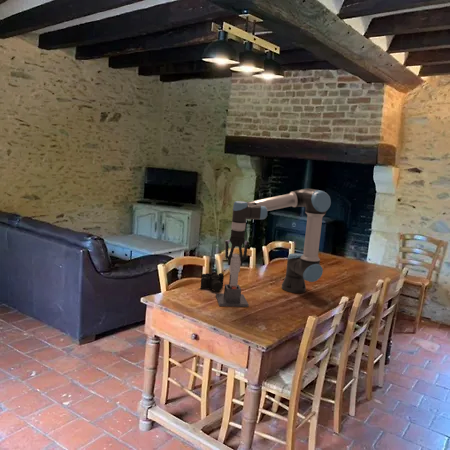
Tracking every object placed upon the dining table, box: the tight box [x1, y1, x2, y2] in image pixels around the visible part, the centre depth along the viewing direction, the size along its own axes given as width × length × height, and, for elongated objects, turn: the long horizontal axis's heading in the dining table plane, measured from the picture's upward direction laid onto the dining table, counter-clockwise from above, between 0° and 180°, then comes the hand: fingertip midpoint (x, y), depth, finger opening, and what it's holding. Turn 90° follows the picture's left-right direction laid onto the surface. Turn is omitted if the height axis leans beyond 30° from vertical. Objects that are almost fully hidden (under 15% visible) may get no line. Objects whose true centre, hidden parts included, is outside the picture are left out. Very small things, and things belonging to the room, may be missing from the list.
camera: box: [200, 271, 225, 293], centre depth 251 cm, size 14×11×10 cm
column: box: [228, 253, 240, 289], centre depth 232 cm, size 4×6×21 cm, turn 8°
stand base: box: [215, 283, 250, 308], centre depth 234 cm, size 16×16×10 cm
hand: (234, 271), depth 232 cm, fingers closed on column, 4 cm apart
